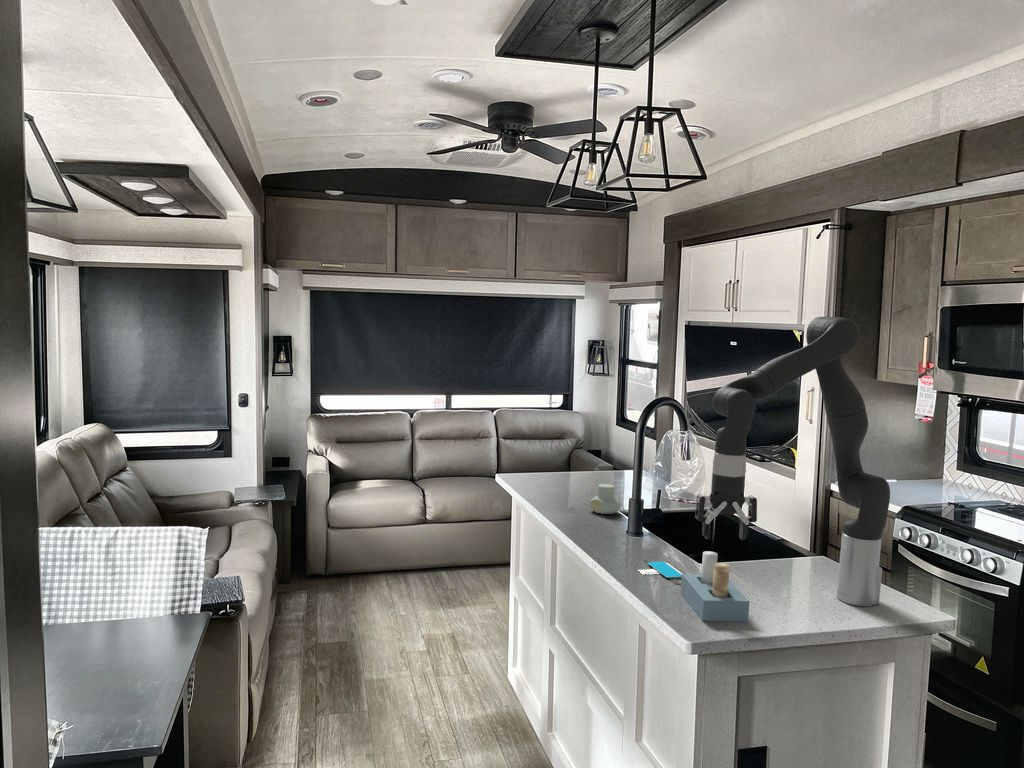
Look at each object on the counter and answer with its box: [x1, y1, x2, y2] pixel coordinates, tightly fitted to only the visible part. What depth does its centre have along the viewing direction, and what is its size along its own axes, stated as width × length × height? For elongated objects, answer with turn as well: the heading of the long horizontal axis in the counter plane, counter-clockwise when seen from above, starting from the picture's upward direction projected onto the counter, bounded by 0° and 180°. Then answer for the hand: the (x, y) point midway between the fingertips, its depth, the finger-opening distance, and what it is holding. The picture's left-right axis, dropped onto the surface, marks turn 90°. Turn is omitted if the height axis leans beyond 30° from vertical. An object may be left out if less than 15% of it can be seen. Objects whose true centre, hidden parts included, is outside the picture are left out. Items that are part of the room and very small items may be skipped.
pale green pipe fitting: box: [589, 483, 621, 515], centre depth 272 cm, size 11×8×10 cm
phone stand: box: [637, 558, 687, 585], centre depth 211 cm, size 20×12×2 cm, turn 16°
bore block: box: [680, 550, 751, 623], centre depth 186 cm, size 11×18×12 cm, turn 4°
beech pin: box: [712, 562, 730, 598], centre depth 182 cm, size 4×4×11 cm
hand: (724, 538), depth 181 cm, fingers open, 8 cm apart
